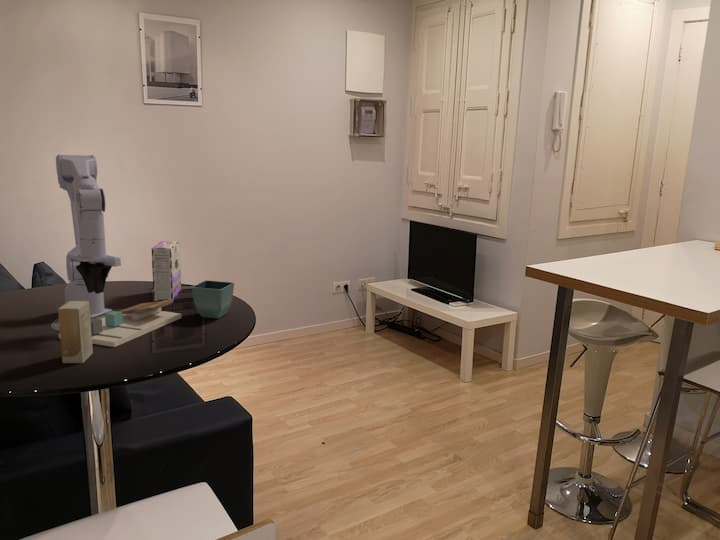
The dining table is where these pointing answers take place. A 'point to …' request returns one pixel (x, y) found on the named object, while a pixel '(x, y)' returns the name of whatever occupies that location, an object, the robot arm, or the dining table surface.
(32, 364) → the dining table surface
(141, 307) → the panel
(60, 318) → the skincare box
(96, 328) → the graphite slider
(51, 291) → the dining table surface
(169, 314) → the panel
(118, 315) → the teal slider
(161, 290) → the candy box
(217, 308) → the flower pot
